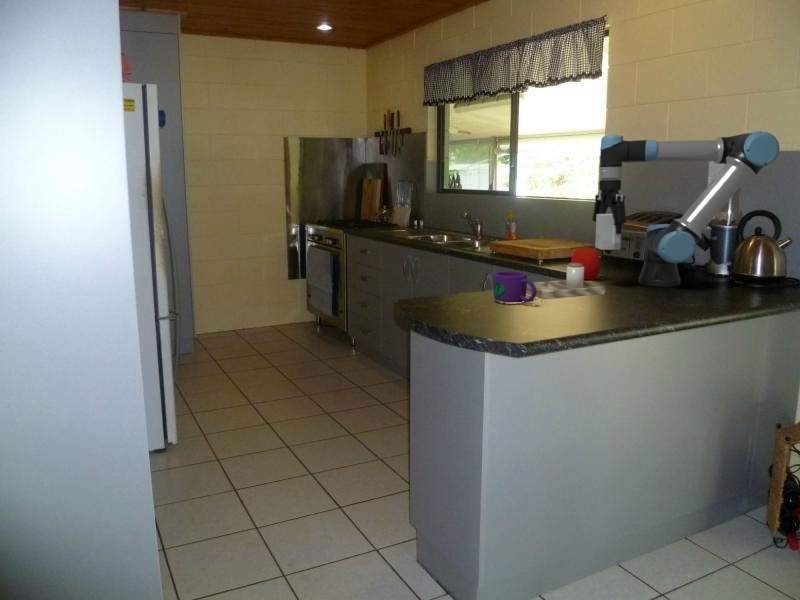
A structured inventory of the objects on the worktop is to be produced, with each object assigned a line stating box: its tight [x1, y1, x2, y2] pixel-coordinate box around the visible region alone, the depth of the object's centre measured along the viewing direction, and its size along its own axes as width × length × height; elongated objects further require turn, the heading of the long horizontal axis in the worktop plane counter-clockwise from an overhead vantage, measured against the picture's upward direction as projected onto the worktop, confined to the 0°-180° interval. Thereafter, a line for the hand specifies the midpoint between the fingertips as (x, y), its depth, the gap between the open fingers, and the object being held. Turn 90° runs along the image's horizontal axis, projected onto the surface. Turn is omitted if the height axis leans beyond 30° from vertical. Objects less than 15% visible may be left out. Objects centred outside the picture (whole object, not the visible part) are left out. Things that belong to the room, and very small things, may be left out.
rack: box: [526, 279, 606, 301], centre depth 231 cm, size 25×18×4 cm
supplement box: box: [594, 213, 622, 251], centre depth 236 cm, size 7×7×13 cm
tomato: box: [570, 245, 602, 281], centre depth 258 cm, size 13×11×14 cm
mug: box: [492, 270, 537, 303], centre depth 217 cm, size 17×11×10 cm, turn 36°
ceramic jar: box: [565, 262, 585, 289], centre depth 232 cm, size 6×6×10 cm
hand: (607, 241), depth 237 cm, fingers closed on supplement box, 9 cm apart
